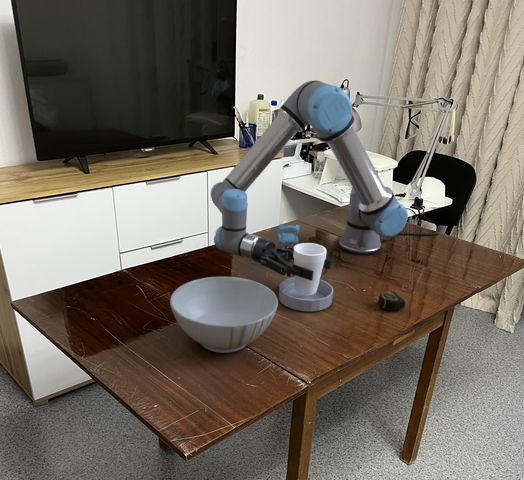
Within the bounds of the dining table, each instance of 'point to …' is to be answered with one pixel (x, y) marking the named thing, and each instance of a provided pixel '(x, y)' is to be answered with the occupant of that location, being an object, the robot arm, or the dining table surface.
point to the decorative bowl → (224, 311)
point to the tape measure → (391, 301)
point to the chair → (288, 237)
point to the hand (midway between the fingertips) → (321, 270)
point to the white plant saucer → (305, 296)
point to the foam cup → (309, 266)
